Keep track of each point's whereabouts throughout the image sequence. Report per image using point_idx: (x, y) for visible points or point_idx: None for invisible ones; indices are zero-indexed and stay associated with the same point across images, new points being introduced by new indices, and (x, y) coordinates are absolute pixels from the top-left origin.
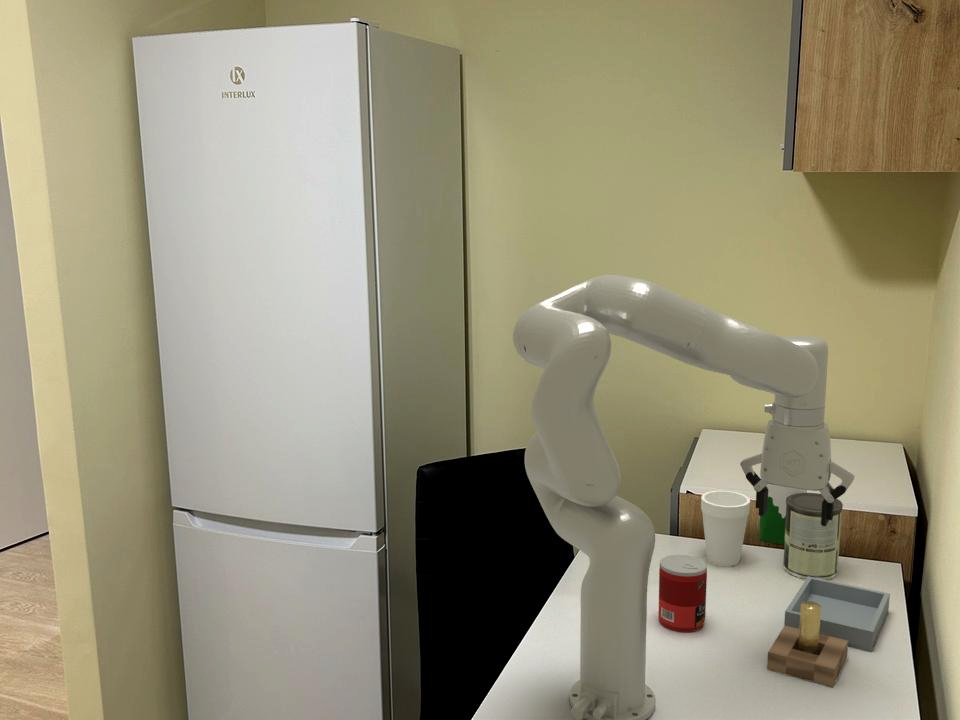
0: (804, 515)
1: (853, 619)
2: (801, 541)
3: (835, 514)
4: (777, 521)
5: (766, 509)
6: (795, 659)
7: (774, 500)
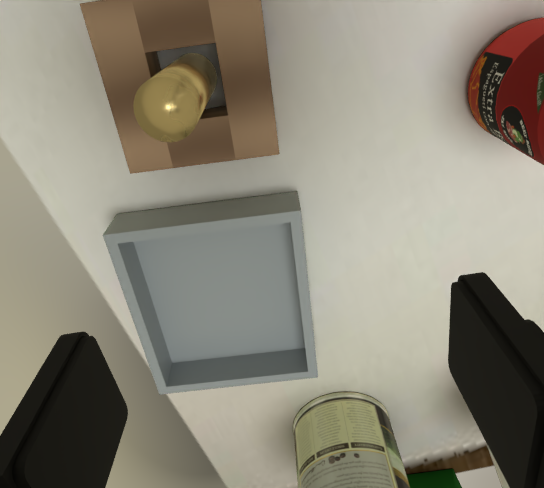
0: None
1: (196, 302)
2: (361, 460)
3: None
4: None
5: (453, 356)
6: None
7: None
